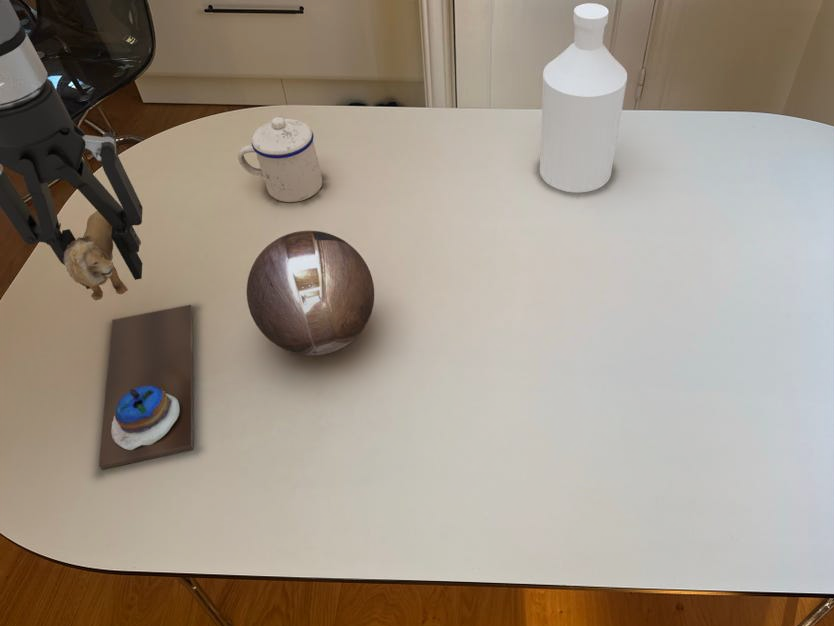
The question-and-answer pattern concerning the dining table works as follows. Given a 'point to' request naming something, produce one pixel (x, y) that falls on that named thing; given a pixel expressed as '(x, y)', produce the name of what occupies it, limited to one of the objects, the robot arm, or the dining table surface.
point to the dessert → (143, 417)
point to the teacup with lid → (285, 159)
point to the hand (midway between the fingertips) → (115, 275)
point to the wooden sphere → (310, 292)
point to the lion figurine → (94, 257)
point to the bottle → (581, 107)
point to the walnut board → (150, 378)
